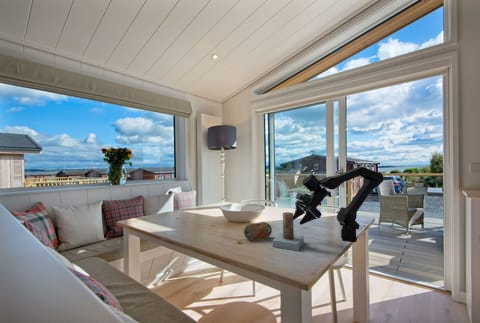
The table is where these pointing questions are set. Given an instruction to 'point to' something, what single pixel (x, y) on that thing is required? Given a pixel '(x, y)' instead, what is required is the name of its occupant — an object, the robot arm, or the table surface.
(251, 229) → the tin
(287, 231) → the walnut column
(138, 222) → the table surface
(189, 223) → the table surface
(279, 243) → the slate plinth
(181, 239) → the table surface
